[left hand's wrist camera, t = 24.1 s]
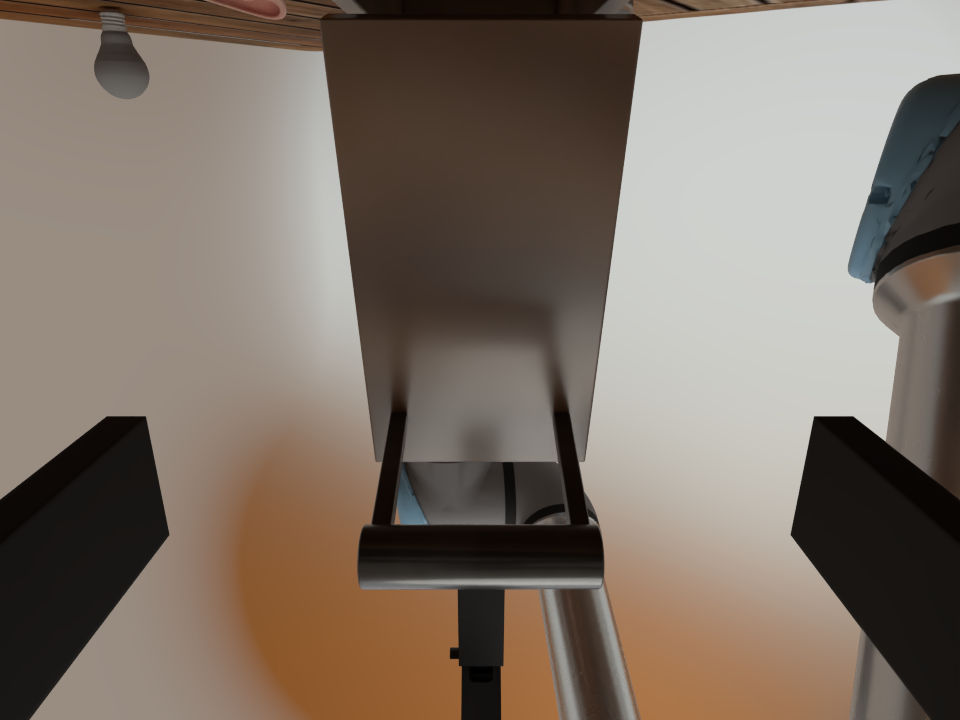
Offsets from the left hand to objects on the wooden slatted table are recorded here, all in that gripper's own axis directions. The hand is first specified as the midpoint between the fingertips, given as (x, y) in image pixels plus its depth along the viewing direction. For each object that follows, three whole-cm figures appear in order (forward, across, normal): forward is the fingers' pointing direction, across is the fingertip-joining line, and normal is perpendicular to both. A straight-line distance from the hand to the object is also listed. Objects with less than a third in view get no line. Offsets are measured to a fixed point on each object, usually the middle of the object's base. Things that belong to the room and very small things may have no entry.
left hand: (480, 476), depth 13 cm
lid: (+13, 0, -1) cm, 13 cm away
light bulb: (+76, +45, -20) cm, 90 cm away
